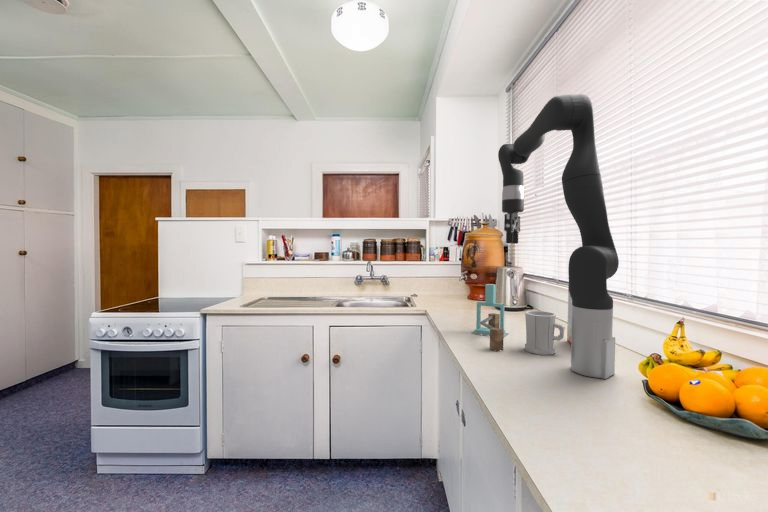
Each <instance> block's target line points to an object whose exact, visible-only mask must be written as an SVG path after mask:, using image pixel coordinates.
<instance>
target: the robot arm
mask: <svg viewBox="0 0 768 512" xmlns="http://www.w3.org/2000/svg"><path fill="white" fill-rule="evenodd" d="M593 107H594V106H593V104H592V101H591V98H590V96H588V95H587V94H583V93H575V94H574V93H573V94H571V93H569V94H559V95H555V96H553V97H552V98H550V99H549V100H548V101H547V102H546V103H545V104H544V106H543V108H541V110H540V112H539V113H538V114H537V116H536V117H535V119H534V120H533V122H532V123H531V124H530V126H529V127H528V128H526V130H525V131H524V132H523V133H521V134H520V135H519V136H518V137H517V138H516V139H515V140H514V142H513V143H503V144H502V145H501V146H500V148H499V150H498V154H497V155H498V156H497V158H498V162H499V165H500V169H501V173H502V193H501V212H502V213H503V214H504V223H503V224H504V225H503V226H504V227H503V230H504V232H505V234H506V235H505V242H506V244H519V233H520V232H521V216H519V213H522V212H524V210H525V209H524V208H525V206H524V205H525V192H524V172H523V170H520V169H517V168H515V167H514V166H513V165H523V164H525V163H526V162H527V161H528V160H529V158H530V157H531V155H532V153H534V152H535V151H537V149H539V148H540V147H541V146H542V145H543V144H544V142H545V139H546V134H547V133H549V132H553V131H557V132H558V131H571V134H572V135H571V136H572V144H573V147H572V151H571V154H570V156H569V158H568V161H567V162H566V164H565V167H564V170H563V172H562V175H561V186H562V191H563V196H564V202H565V204H566V207H567V209H568V210H569V213H570V214H571V216H572V218H573V219H574V221H575V223H576V225H577V227H578V229H579V233H580V239H581V246H579V247H577V248H576V249H574V250H573V252H572V253H571V254H570V257H569V259H568V267H567V268H568V271H567V273H568V285H569V293H570V296H571V298H572V338H571V343H570V344H571V345H570V346H571V347H570V348H571V349H570V355H571V356H570V370H571V371H572V372H574V373H575V374H579V375H582V376H585V377H591V378H597V379H598V378H599V379H603V380H607V379H608V378H610V377H612V376H613V375H615V371H616V370H615V369H616V368H615V367H616V365H615V363H616V337H615V336H613V327H614V326H613V322H614V321H613V320H614V319H613V318H614V299H613V297H612V296H611V295H610V294H609V292H608V286H607V280H608V279H610V278H612V277H614V276H615V275H616V273H617V271H618V269H619V263H620V262H619V261H620V260H619V257H618V253H617V249H616V245H615V243H614V239H613V236H612V233H611V229H610V225H609V219H608V218H609V217H608V211H607V206H606V200H605V193H604V186H603V179H602V174H601V170H600V165H599V160H598V155H597V154H598V152H597V146H596V138H595V137H596V136H595V134H596V133H595V119H594V118H595V117H594V109H593Z"/></svg>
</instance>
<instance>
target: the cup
mask: <svg viewBox="0 0 768 512" xmlns="http://www.w3.org/2000/svg"><path fill="white" fill-rule="evenodd" d="M524 314H525V329H526V330H525V331H526V333H525V334H526V335H525V337H526V338H525V339H526V340H525V342H526V343H525V344H524V350H525V351H526V352H528V353H530V354H534V355H539V356H540V355H541V356H551V355H553V354H554V353H556V347H555V341H558V342H560V341H562V340H563V339H564V338H565V328H566V327H565V326H564V324H561V323H558V322H556V319H557V314H556V313H553V312H550V311H544V310H543V311H541V310H528V311H527V310H526V311H525V312H524ZM555 329H558V331H559V334H558V335H557V336H555Z"/></svg>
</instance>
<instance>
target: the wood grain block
mask: <svg viewBox="0 0 768 512" xmlns="http://www.w3.org/2000/svg"><path fill="white" fill-rule="evenodd" d="M491 315H494V318H492V319H491V320H489V321H487V323H488V325H490V326H492V327H494V328H492V329H490V336H489V350H490V349H492V350H491V351H494V350H496V351H495V352H501V351H503V350H504V338H503V335H504V330H505V328H504V329H500V313H494V312H492V313H488V317H490V316H491ZM488 317H487V318H488ZM500 350H501V351H500Z"/></svg>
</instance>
